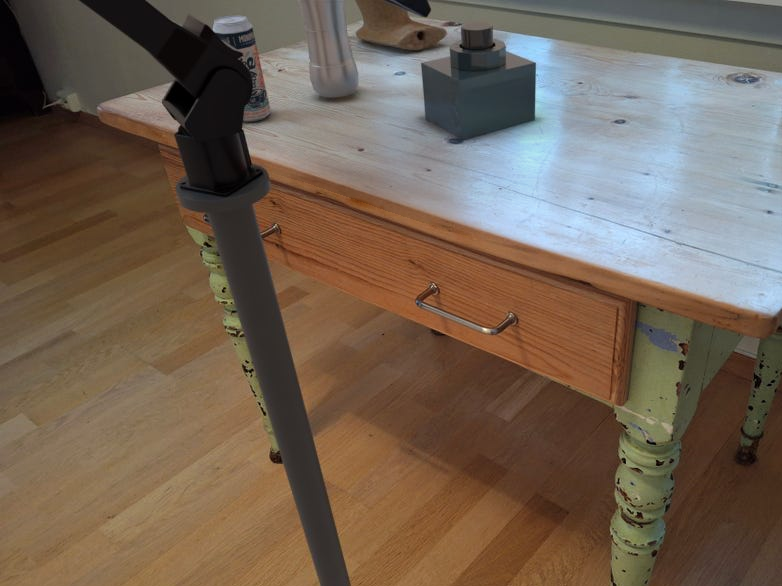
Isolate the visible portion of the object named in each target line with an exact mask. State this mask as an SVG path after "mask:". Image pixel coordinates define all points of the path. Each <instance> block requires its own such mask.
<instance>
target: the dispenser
mask: <svg viewBox="0 0 782 586" xmlns="http://www.w3.org/2000/svg"><path fill="white" fill-rule="evenodd" d="M420 67H421V80H422V94H423V104H424V117H425V120H427V121H428V122H430V123H432V124H434V125H436V126H437V127H439V128H440V129H442V130H444V131H445V132H447V133H449V134H451V135H453V136H454V137H456V138H457V139H460V140H462V141H463V140H467V139H470V138H474V137H477V136H481V135H485V134H489V133H493V132H495V131H500V130H503V129H506V128H510V127H513V126H517V125H521V124H525V123H528V122H532V121H535V120H536V91H537V90H536V89H537V87H536V85H537V84H536V83H537V80H536V79H537V62H535V61H533V60H530V59H528V58H525V57H523V56H520V55H517V54H516V53H512V52H510V51H507V46H506V42H505V41H503V40H500V39H497V38H493V48H491V49H486V50H477V51H473V50H464V49H462V42H461V39H458V40H456V41H454V42H452V43H450V44H449V56H446V57H445V56H444V57H441V58H436V59H432V60H427V61H422V62H420Z"/></svg>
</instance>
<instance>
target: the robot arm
mask: <svg viewBox="0 0 782 586" xmlns="http://www.w3.org/2000/svg"><path fill="white" fill-rule="evenodd" d="M78 1H79V2H80V3H82V4H83V5H84V6H86V7H87V8H88V9H90V10H91V11H92V12H93V13H95V14H96V15H98V16H99V17H101V18H102V19H103V20H104V21H106V22H107V23H109V24H110V25H111V26H113V27H114V28H115V29H117V30H118V31H120V32H121V33H122V34H124V35H125V36H126V37H128V38H129V39H130V40H132V41H133V42H134V43H136V44H137V45H139V46H140V47H141V48H143V49H144V50H145V51H146V52H147V53H148V54H149V55H150V56H151V57H152V58H153V59H154V60H155V61H156V63H158V64H159V65H160V66H161V67H162V68H163V70H164V71H165V72H166V73H168V74H169V75H170V77H171V78H173V81H172V83H171V85H170V86H169V87H168V89H167V91H166V93H165V94H164V96H163V98H162V100H161V104H162V106H163V107H164V109H165V110H166V111H167V113H168V114H169V115H170V117H171V119H173V120H174V121H176V123H178V124H179V126H178V128H177V131H176V132H174V133H173V136H174V139H175V142H176V146H177V149H178V153H179V155H180V159H181V161H182V165H183V168H184V170H185V174H186V175H187V178H188V179H186V180H184V181H183V182H181V183H179V187H180V189H184V190H189V191H194V192H199V193H204V194H209V195H214V196H219V197H228V196H230V195H231V194H233V193H235V192H236V191H238V190H239V189H241V188H242V187H244V186H246V185H247V184H249V183H250V182H252V181H253V180H255V179H257V178H258V177H260V176H261V175H263V170H262V169H259V168H253V167H251V165H252V164H253V163H252V158H251V155H250V150H249V147H248V143H247V138H246V134H245V131H244V129H243V125H244V121H243V116H244V107H245V106H246V105H247V104H248V102H249V100H250V98H251V96H252V91H253V82H252V74H251V73H250V71H249V69H248V68H247V67H246V66H245V65H244V63H243V62H242V61H240V60H239V59H237V58H240V57H242V56H243V53H242V52H240V51H239V50H237V49H236V48H234V47H232V46H231V45H229V44H228V43H226V42H225V41H223V40H222V39H220V38H219V37H218V36H217V34H216V33H215V32H214V31H213V28H211V26H209V25H208V24H206V23H205V22H204V21H202V20H200V19H199V18H198V17H196V16H194V15H192V14H191V13H187V14H186V15H187V16H186V18H185V19H184V22H183V24H181V23H179V22H178V21H176V20H173V19H171V18H169V17H168V16H166V15H165V14H164V13H162V12H161V11H160V10H159V9H157V8H156V7H155V6H153V4H151V3H150V2H149V1H147V0H78ZM382 1H384V2H387V3H389V4H392V5H394V6H397V7H399V8H402V9H404V10H407V12H408V13H411V14H414V15H416V16H420V17H422V18H428V17H429V15H430V13H431V11H432V8H431V5H430V2H429V1H428V0H382ZM186 175H185V176H186Z"/></svg>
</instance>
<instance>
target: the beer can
mask: <svg viewBox="0 0 782 586" xmlns="http://www.w3.org/2000/svg"><path fill="white" fill-rule="evenodd" d="M213 21H214V22H213V26H212V30H213V31H214V32H215V33H216V34H217V36H218V37H219V38H220V39H222V40H223V41H225V42H226V43H228V44H229V45H231V46H232V47H234V48H236V49H237V50H239V51H240V52H242V53H243V56H242V57H240V58H237V59H239V60H240V61H242V62H243V63H244V65H245V66H246V67H247V68H248V69H249V71H250V73H251V74H252V82H253V91H252V96H251V98H250V100H249V102H248V104H247V105H246V106H245V107H244V116H243V122H247V123H248V122H249V123H251V122H258V121H262V120H264V119H266V118H267V117H268V116H269V115H270V114H271V112H272V110H271V105H270V101H269V97H268V92H267V88H266V82H265V78H264V74H263V69H262V64H261V59H260V55H259V50H258V45H257V42H256V37H255V32H254V28H253V24H251V22H250V21H249V19H248V18H247V16H245V15H239V14H237V15H226V16H221V17H218V18H216V19H214V20H213Z"/></svg>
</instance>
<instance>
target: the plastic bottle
mask: <svg viewBox="0 0 782 586" xmlns="http://www.w3.org/2000/svg"><path fill="white" fill-rule="evenodd" d="M297 3H298V5H299V9H300V12H301V16H302V21H303V25H304V26H305V27H304V30H305V34H306V39H307V49H308V58H309V62H308V72H309V81H310V83H311V85H312V89H313V90H314V92H315V93H316V94H317V95H318V96H320V97H323V98H341V97H347V96H350V95H353V94H354V93H356V91H357V89H358V87H359V70H358V67H357V64H356V62H355V61H356V60H355V58H354V56H353V51H352V48H351V43H350V39H349V34H348V27H347V26H348V25H347V23H346V22H347V18H346V17H347V16H346V0H297Z"/></svg>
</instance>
